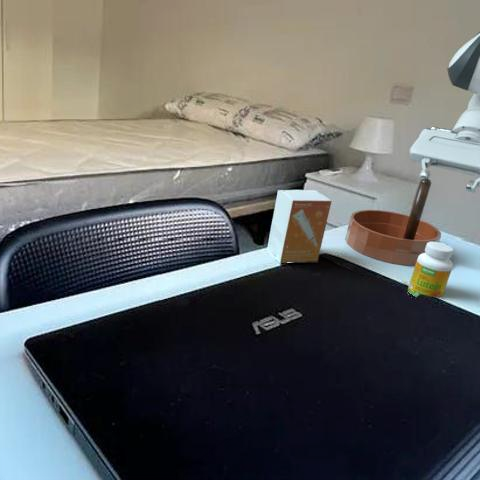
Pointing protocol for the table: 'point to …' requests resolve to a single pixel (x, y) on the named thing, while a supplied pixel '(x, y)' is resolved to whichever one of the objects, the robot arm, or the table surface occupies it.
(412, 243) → the bowl
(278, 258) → the small box
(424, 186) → the dark brown wooden dowel
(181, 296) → the table surface
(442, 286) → the supplement bottle
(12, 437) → the table surface
